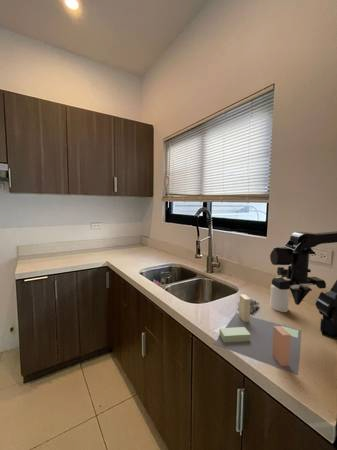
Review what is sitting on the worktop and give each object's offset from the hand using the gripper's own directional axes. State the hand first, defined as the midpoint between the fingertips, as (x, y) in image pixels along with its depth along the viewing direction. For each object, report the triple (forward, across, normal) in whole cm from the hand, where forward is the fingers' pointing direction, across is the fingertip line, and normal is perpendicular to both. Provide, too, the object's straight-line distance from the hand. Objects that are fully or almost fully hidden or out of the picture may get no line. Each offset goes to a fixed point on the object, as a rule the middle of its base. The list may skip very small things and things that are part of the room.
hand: (297, 304), depth 86 cm
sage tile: (+10, +20, +1) cm, 23 cm away
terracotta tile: (+11, +16, +14) cm, 24 cm away
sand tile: (+11, +16, -12) cm, 23 cm away
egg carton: (+12, +9, -22) cm, 27 cm away
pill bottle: (+12, -6, -21) cm, 25 cm away
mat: (+12, +15, +2) cm, 20 cm away
